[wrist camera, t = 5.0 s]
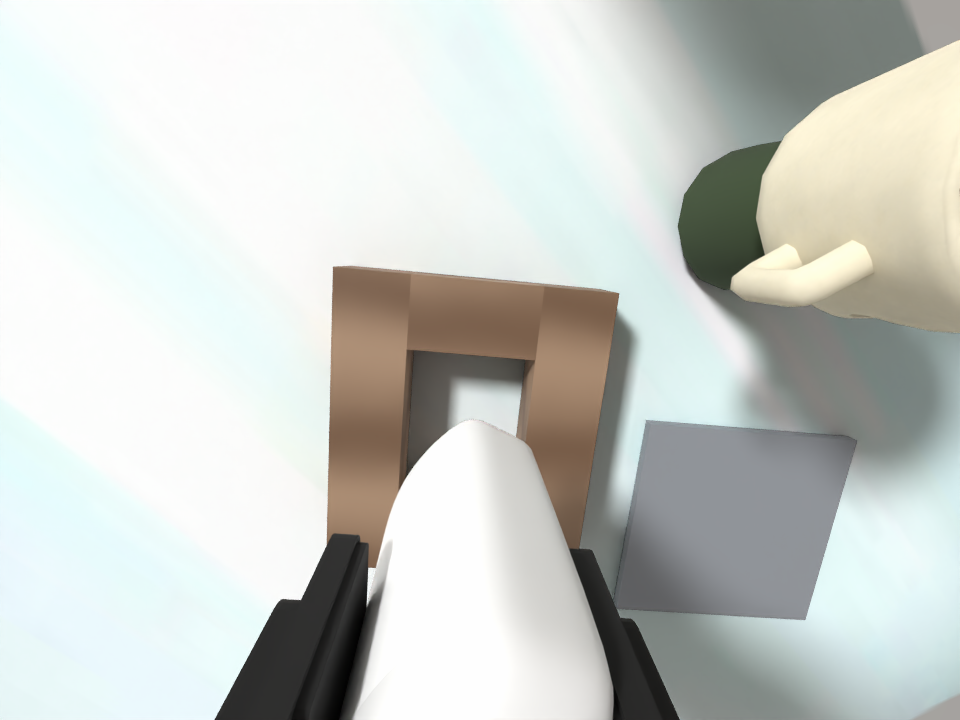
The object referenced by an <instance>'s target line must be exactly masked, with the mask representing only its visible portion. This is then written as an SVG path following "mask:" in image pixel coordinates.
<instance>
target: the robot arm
mask: <svg viewBox="0 0 960 720" xmlns="http://www.w3.org/2000/svg"><path fill="white" fill-rule="evenodd" d="M569 551H570V554H571V556H572V559H573V562H574V565H575V567H576V570H577V573H578V575H579V578H580V581H581V584H582V586H583V589H584V592H585V595H586V598H587V601H588V604H589V607H590V609H591V612H592V615H593V618H594V621H595V624H596V627H597V630H598V633H599V636H600V639H601V642H602V645H603V648H604V652H605V655H606V659H607V663H608V667H609V672H610V676H611V680H612V685H613V697H614V705H613V720H680V719H679V717H678V715H677V713H676V711H675V708H674V706H673V704H672V702H671V699H670V697H669V695H668V693H667V691H666V688H665V686H664V684H663V682H662V679H661V677H660V675H659V673H658V671H657V668H656V666H655V664H654V662H653V660H652V657H651V655H650V653H649V651H648V648H647V646H646V644H645V642H644V640H643V637H642V635H641V633H640V631H639V629H638V627H637V625H636V623H635V622H634V621H633V620H632V619H626V618H620V616H619V614H618V612H617V609H616V607H615V604H614V602H613V600H612V597H611V595H610V592H609V590H608V587H607V585H606V583H605V580H604V578H603V575H602V573H601V571H600V568H599V566H598V563H597V561H596V558H595V556H594V554H593V552H592V551H591V550H589V549H573V548H569ZM368 557H369V543H365V542H360V535H353V534H337V533H334V534H332V536H331V538H330V540H329V542H328V544H327V546H326V548H325V550H324V553H323V555H322V557H321V559H320V561H319V563H318V565H317V567H316V570H315V572H314V574H313V576H312V578H311V580H310V582H309V584H308V587H307V589H306V591H305V593H304V595H303V597H302V599H301V600H287V599H282V600H280V601H279V602H278V603H277V605H276V606H275V608H274V610H273V612H272V613H271V615H270V617H269V619H268V621H267V623H266V625H265V627H264V628H263V630H262V632H261V634H260V636H259V638H258V640H257V641H256V643H255V645H254V647H253V649H252V651H251V653H250V655H249V656H248V658H247V660H246V662H245V664H244V666H243V668H242V669H241V671H240V673H239V675H238V677H237V679H236V681H235V683H234V684H233V686H232V688H231V690H230V692H229V694H228V696H227V698H226V699H225V701H224V703H223V705H222V707H221V709H220V711H219V712H218V714H217V716H216V718H215V720H339V716H340V712H341V708H342V704H343V700H344V696H345V692H346V688H347V684H348V680H349V676H350V672H351V668H352V664H353V660H354V656H355V652H356V648H357V644H358V640H359V636H360V632H361V628H362V624H363V620H364V616H365V612H366V607H367V582H368Z"/></svg>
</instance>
